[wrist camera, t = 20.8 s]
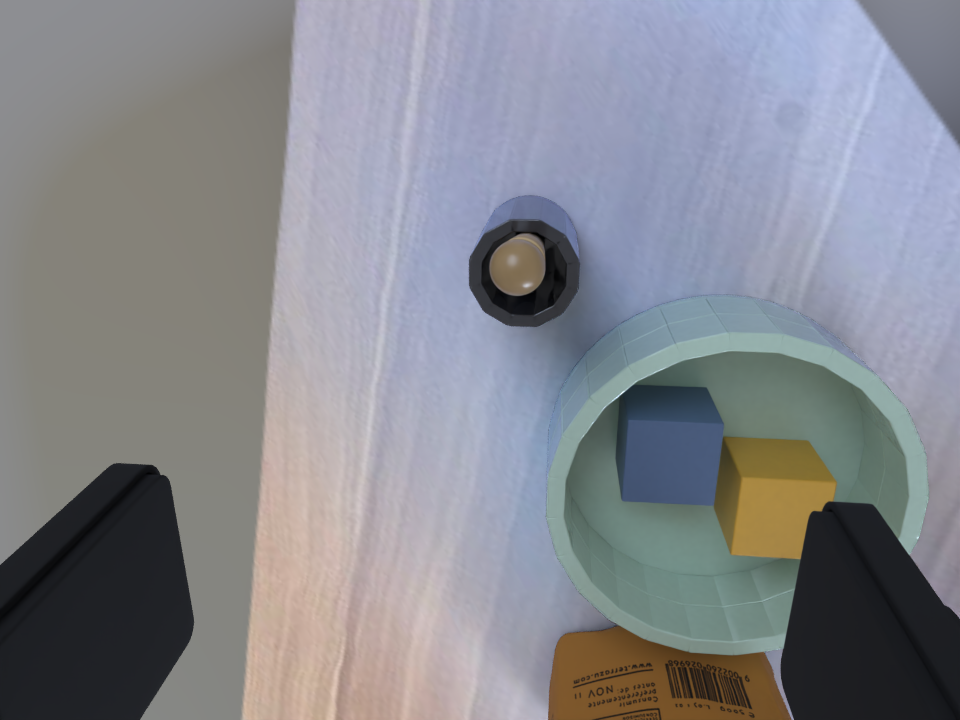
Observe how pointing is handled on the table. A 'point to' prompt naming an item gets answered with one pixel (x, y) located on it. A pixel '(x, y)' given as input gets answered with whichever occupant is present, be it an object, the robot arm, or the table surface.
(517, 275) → the stick
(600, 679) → the coffee package
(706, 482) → the block
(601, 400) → the bowl
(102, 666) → the robot arm
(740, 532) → the block
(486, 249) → the holder
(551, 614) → the table surface
